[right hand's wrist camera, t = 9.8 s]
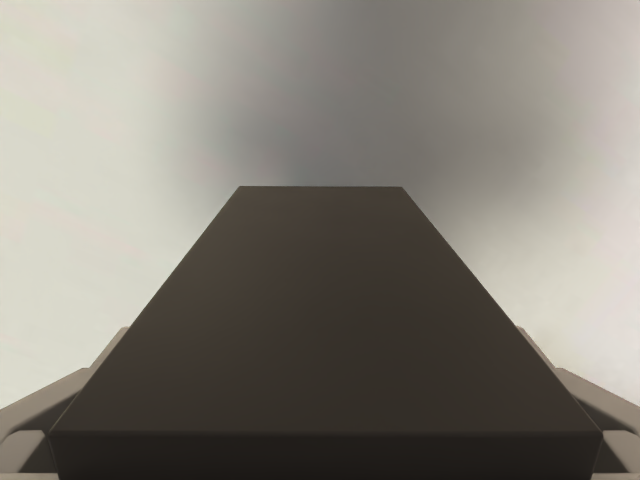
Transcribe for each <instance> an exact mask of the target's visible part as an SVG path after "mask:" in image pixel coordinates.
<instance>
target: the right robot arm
mask: <svg viewBox="0 0 640 480" xmlns="http://www.w3.org/2000/svg"><path fill="white" fill-rule="evenodd" d="M516 327H517V328H518V330H519V331H520V332H521V333H522V334H523V336H524V337H525V338H526V339H527V341H528V342H529V343H530V344H531V345H532V347H533V348H534V349H535V350H536V351H537V353H538V354H539V355H540V356H541V358H542V359H543V360H544V361H545V362H546V364H547V365H548V366H549V367H550V369H551V370H552V371H553V372H554V373H555V375H556V376H557V377H558V378H559V380H560V381H561V382H562V383H563V384H564V386H565V387H566V388H567V389H568V391H569V392H570V393H571V394H572V395H573V397H574V398H575V399H576V400H577V402H578V403H579V404H580V405H581V406H582V408H583V409H584V410H585V411H586V413H587V414H588V415H589V416H590V417H591V419H592V420H593V421H594V422H595V424H596V425H597V426H598V427H599V428H600V430H601V431H602V433H603V437H604V438H603V441H602V444H601V448H600V451H599V454H598V458H597V461H596V464H595V468H594V471H593V474H592V478H591V480H640V407H639V406H637V405H635V404H633V403H631V402H629V401H627V400H625V399H623V398H621V397H619V396H617V395H615V394H613V393H611V392H609V391H607V390H605V389H603V388H601V387H599V386H597V385H595V384H593V383H591V382H589V381H587V380H585V379H583V378H581V377H579V376H577V375H575V374H573V373H571V372H569V371H567V370H565V369H563V368H555V367H554V366H553V364H552V363H551V362H550V361H549V359H548V358H547V357H546V356H545V355H544V353H543V352H542V351H541V350H540V348H539V347H538V346H537V345H536V344H535V342H534V341H533V340H532V339H531V337H530V336H529V335H528V334H527V333H526V331H525V330H524V329H523V328H521V327H519V326H516ZM128 329H129V327H123V328H121V329H120V330H119V331H118V333H117V334H116V335H115V336H114V338H113V339H112V340H111V341H110V343H109V344H108V345H107V346H106V348H105V349H104V350H103V351H102V353H101V354H100V355H99V356H98V358H97V359H96V360H95V361H94V363H93V364H92V365H91V366H90V368H81V369H80V370H78V371H76V372H74V373H72V374H70V375H68V376H66V377H64V378H62V379H60V380H58V381H56V382H54V383H52V384H50V385H48V386H46V387H44V388H42V389H40V390H38V391H36V392H34V393H32V394H30V395H28V396H26V397H24V398H22V399H21V400H19V401H17V402H15V403H13V404H11V405H9V406H7V407H5V408H3V409H1V410H0V480H59V478H58V474H57V471H56V467H55V463H54V460H53V456H52V452H51V449H50V445H49V441H48V438H47V436H48V432H49V430H50V429H51V428H52V426H53V425H54V424H55V423H56V421H57V420H58V419H59V417H60V416H61V415H62V414H63V412H64V411H65V410H66V408H67V407H68V406H69V405H70V403H71V402H72V401H73V399H74V398H75V397H76V396H77V394H78V393H79V392H80V390H81V389H82V388H83V387H84V385H85V384H86V383H87V381H88V380H89V379H90V378H91V376H92V375H93V374H94V372H95V371H96V370H97V369H98V367H99V366H100V365H101V363H102V362H103V361H104V360H105V358H106V357H107V356H108V354H109V353H110V352H111V351H112V349H113V348H114V347H115V345H116V344H117V343H118V342H119V340H120V339H121V338H122V336H123V335H124V334H125V333H126V331H127V330H128Z"/></svg>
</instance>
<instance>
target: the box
mask: <svg viewBox="0 0 640 480" xmlns="http://www.w3.org/2000/svg"><path fill="white" fill-rule="evenodd" d="M47 438H48V441H49V445H50V449H51V452H52V456H53V460H54V463H55V467H56V471H57V474H58V478H59V480H591V478H592V474H593V471H594V468H595V464H596V461H597V458H598V454H599V451H600V448H601V444H602V441H603V438H604V437H603V433H602V431H601V430H600V428H599V427H598V426H597V425H596V424H595V422H594V421H593V420H592V419H591V417H590V416H589V415H588V414H587V413H586V411H585V410H584V409H583V408H582V406H581V405H580V404H579V403H578V402H577V400H576V399H575V398H574V397H573V395H572V394H571V393H570V392H569V391H568V389H567V388H566V387H565V386H564V384H563V383H562V382H561V381H560V380H559V378H558V377H557V376H556V375H555V373H554V372H553V371H552V370H551V369H550V367H549V366H548V365H547V364H546V362H545V361H544V360H543V359H542V358H541V356H540V355H539V354H538V353H537V351H536V350H535V349H534V348H533V347H532V345H531V344H530V343H529V342H528V341H527V339H526V338H525V337H524V336H523V334H522V333H521V332H520V331H519V330H518V328H517V327H516V326H515V325H514V323H513V322H512V321H511V320H510V319H509V317H508V316H507V315H506V314H505V312H504V311H503V310H502V309H501V308H500V306H499V305H498V304H497V303H496V301H495V300H494V299H493V298H492V297H491V295H490V294H489V293H488V292H487V290H486V289H485V288H484V287H483V286H482V284H481V283H480V282H479V281H478V279H477V278H476V277H475V276H474V275H473V273H472V272H471V271H470V270H469V268H468V267H467V266H466V265H465V264H464V262H463V261H462V260H461V259H460V257H459V256H458V255H457V254H456V253H455V251H454V250H453V249H452V248H451V246H450V245H449V244H448V243H447V242H446V240H445V239H444V238H443V237H442V235H441V234H440V233H439V232H438V231H437V229H436V228H435V227H434V226H433V224H432V223H431V222H430V221H429V220H428V218H427V217H426V216H425V215H424V213H423V212H422V211H421V210H420V209H419V207H418V206H417V205H416V204H415V202H414V201H413V200H412V199H411V198H410V196H409V195H408V194H407V193H406V191H405V190H404V189H403V188H402V187H318V186H239V187H238V189H237V190H236V191H235V193H234V194H233V195H232V196H231V198H230V199H229V200H228V202H227V203H226V204H225V205H224V207H223V208H222V209H221V211H220V212H219V213H218V214H217V216H216V217H215V218H214V220H213V221H212V222H211V223H210V225H209V226H208V227H207V229H206V230H205V231H204V232H203V234H202V235H201V236H200V238H199V239H198V240H197V241H196V243H195V244H194V245H193V247H192V248H191V249H190V250H189V252H188V253H187V254H186V255H185V257H184V258H183V259H182V261H181V262H180V263H179V264H178V266H177V267H176V268H175V270H174V271H173V272H172V273H171V275H170V276H169V277H168V279H167V280H166V281H165V282H164V284H163V285H162V286H161V288H160V289H159V290H158V291H157V293H156V294H155V295H154V297H153V298H152V299H151V300H150V302H149V303H148V304H147V306H146V307H145V308H144V309H143V311H142V312H141V313H140V315H139V316H138V317H137V318H136V320H135V321H134V322H133V324H132V325H131V326H130V327H129V329H128V330H127V331H126V333H125V334H124V335H123V336H122V338H121V339H120V340H119V342H118V343H117V344H116V345H115V347H114V348H113V349H112V351H111V352H110V353H109V354H108V356H107V357H106V358H105V360H104V361H103V362H102V363H101V365H100V366H99V367H98V369H97V370H96V371H95V372H94V374H93V375H92V376H91V378H90V379H89V380H88V381H87V383H86V384H85V385H84V387H83V388H82V389H81V390H80V392H79V393H78V394H77V396H76V397H75V398H74V399H73V401H72V402H71V403H70V405H69V406H68V407H67V408H66V410H65V411H64V412H63V414H62V415H61V416H60V417H59V419H58V420H57V421H56V423H55V424H54V425H53V426H52V428H51V429H50V430H49V432H48V436H47Z"/></svg>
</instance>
